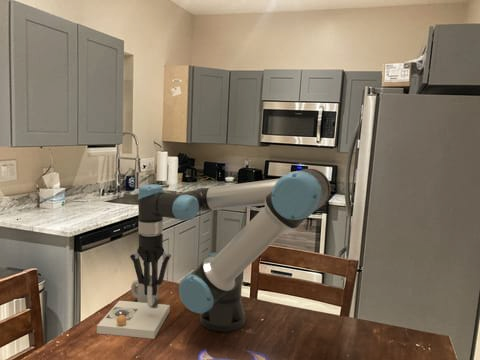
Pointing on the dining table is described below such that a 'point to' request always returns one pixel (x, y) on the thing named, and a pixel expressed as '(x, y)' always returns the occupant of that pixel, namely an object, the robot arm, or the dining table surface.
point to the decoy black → (155, 302)
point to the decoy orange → (121, 319)
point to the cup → (141, 291)
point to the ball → (120, 313)
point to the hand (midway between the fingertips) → (150, 304)
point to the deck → (134, 320)
